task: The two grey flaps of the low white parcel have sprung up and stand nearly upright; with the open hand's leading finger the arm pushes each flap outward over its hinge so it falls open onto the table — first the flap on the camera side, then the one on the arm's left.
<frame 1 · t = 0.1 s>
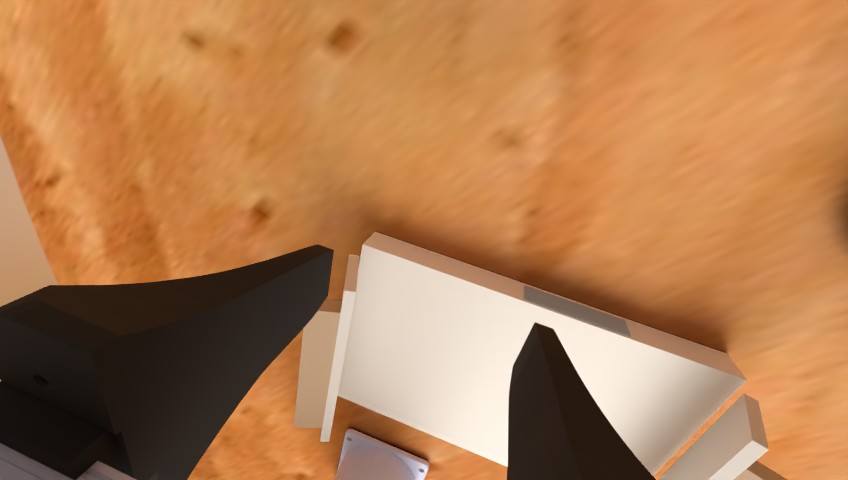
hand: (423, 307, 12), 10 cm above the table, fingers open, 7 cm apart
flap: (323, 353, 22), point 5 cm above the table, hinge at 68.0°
carton: (502, 367, 25), on the table
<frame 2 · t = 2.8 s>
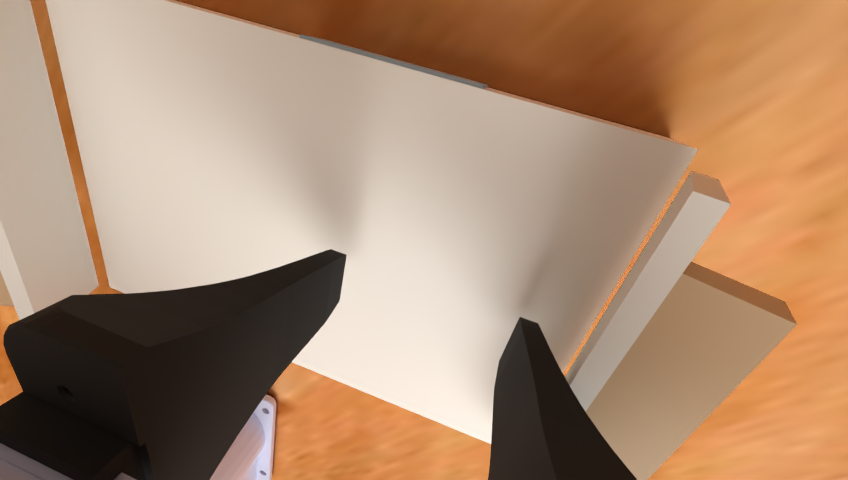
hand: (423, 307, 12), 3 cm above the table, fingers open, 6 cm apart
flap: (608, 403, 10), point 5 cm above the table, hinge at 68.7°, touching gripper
carton: (331, 223, 16), on the table
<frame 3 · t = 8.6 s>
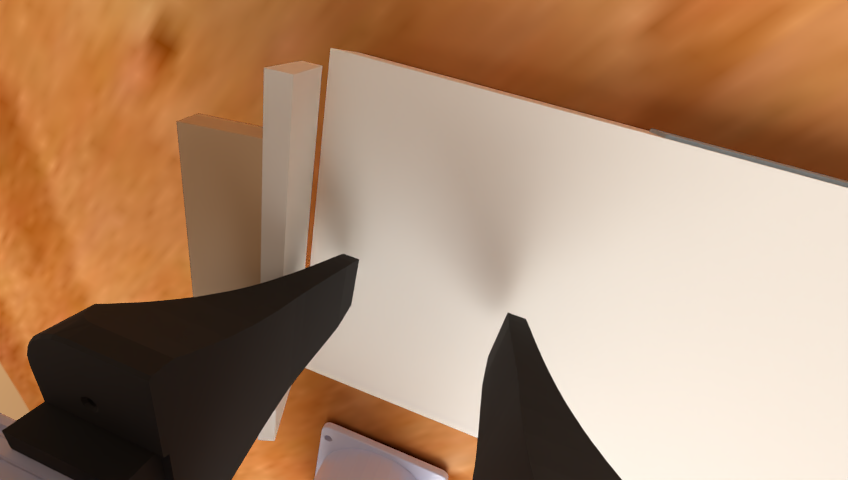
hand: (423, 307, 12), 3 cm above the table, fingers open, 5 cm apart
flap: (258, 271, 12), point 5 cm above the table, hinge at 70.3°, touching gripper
carton: (581, 309, 14), on the table
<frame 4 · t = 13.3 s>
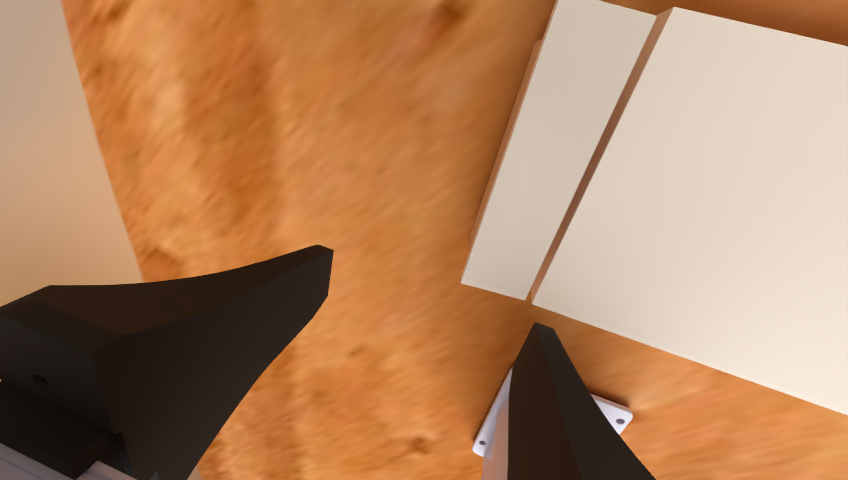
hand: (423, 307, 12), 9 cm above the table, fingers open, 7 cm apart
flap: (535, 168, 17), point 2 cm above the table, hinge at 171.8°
carton: (818, 244, 16), on the table
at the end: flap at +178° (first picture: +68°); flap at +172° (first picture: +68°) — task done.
